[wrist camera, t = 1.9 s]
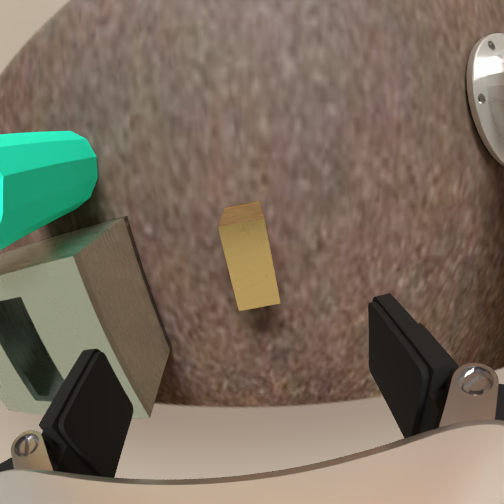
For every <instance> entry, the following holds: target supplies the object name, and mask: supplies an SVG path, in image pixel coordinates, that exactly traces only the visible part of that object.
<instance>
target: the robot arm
mask: <svg viewBox="0 0 504 504" xmlns="http://www.w3.org/2000/svg"><path fill="white" fill-rule="evenodd" d="M466 76H467V93H468V100H469V105H470V109H471V113H472V117H473V120H474V123H475V125H476V128H477V131H478V133H479V135H480V137H481V139H482V141H483V143H484V145H485V146H486V148H487V149H488V151H489V152H490V154H491V155H492V156H493V157H494V158H495V159H496V161H497V162H498V163H500V164H501V165H502V166H504V34H501V33H496V34H491V35H488V36H485V37H483V38H481V39H480V40H479V41H478V42H477V43H476V44H475V45H474V47H473V49H472V51H471V53H470V56H469V60H468V65H467V74H466ZM368 312H369V368H370V372H371V374H372V376H373V378H374V380H375V381H376V383H377V385H378V387H379V389H380V391H381V393H382V395H383V397H384V399H385V401H386V402H387V404H388V406H389V408H390V410H391V412H392V414H393V416H394V418H395V420H396V422H397V424H398V426H399V428H400V430H401V432H402V434H403V436H404V439H401V440H398V441H395V442H392V443H389V444H386V445H383V446H380V447H377V448H374V449H370V450H366V451H363V452H359V453H356V454H352V455H348V456H344V457H340V458H336V459H333V460H328V461H324V462H320V463H315V464H311V465H306V466H301V467H296V468H290V469H285V470H279V471H272V472H265V473H258V474H250V475H242V476H233V477H222V478H207V479H184V480H147V479H146V480H145V479H124V478H114V477H115V473H116V469H117V466H118V462H119V459H120V455H121V451H122V448H123V445H124V441H125V438H126V435H127V432H128V428H129V425H130V422H131V419H132V416H133V412H134V409H133V405H132V403H131V401H130V399H129V398H128V396H127V394H126V392H125V391H124V389H123V387H122V385H121V383H120V382H119V380H118V378H117V376H116V374H115V372H114V370H113V369H112V367H111V365H110V363H109V361H108V359H107V357H106V355H105V354H104V353H103V352H101V351H100V350H99V349H87V350H83V351H82V353H81V354H80V356H79V357H78V359H77V361H76V362H75V364H74V365H73V367H72V369H71V370H70V372H69V374H68V375H67V377H66V379H65V380H64V382H63V384H62V385H61V387H60V389H59V390H58V392H57V394H56V395H55V397H54V399H53V401H52V402H51V404H50V406H49V408H48V409H47V411H46V413H45V415H44V417H43V418H42V420H41V422H40V424H39V426H40V427H41V429H42V430H43V433H42V434H40V433H39V432H38V431H35V430H30V431H26V432H23V433H22V434H21V435H19V436H18V437H17V438H16V439H15V440H14V442H13V443H12V446H11V455H12V458H10V459H8V460H6V461H4V462H3V463H1V464H0V504H504V384H498V383H499V382H498V376H497V374H496V373H495V371H494V370H493V369H492V368H491V367H489V366H487V365H485V364H480V363H469V364H465V365H463V366H461V367H459V366H458V365H457V364H456V362H455V361H454V360H453V359H452V358H451V356H450V355H449V354H448V353H447V352H446V351H445V350H444V348H443V347H442V346H441V345H440V344H439V343H438V342H437V340H436V339H435V338H434V337H433V336H432V335H431V334H430V332H429V331H428V330H427V329H426V328H425V327H424V326H423V325H422V324H419V323H417V322H416V321H415V320H414V319H413V318H412V317H411V316H410V314H409V313H408V312H407V311H406V310H405V309H404V308H403V307H402V306H401V305H400V303H399V302H398V301H397V300H396V299H395V298H394V297H393V296H392V295H391V294H390V293H388V294H384V295H381V296H377V297H374V298H373V302H371V303H369V305H368Z"/></svg>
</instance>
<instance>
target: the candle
mask: <svg viewBox="0 0 504 504" xmlns="http://www.w3.org/2000/svg"><path fill="white" fill-rule="evenodd" d="M97 179H98V173H97V156H96V155H95V153H94V151H93V150H92V148H91V146H90V144H89V143H88V141H87V139H85V138H83V137H82V136H80V135H78V134H76V133H74V132H72V131H50V132H28V133H13V134H1V135H0V250H1V249H3V248H5V247H6V246H8V245H10V244H12V243H13V242H15V241H17V240H19V239H20V238H22V237H24V236H26V235H28V234H29V233H31V232H33V231H35V230H37V229H39V228H40V227H42V226H44V225H46V224H48V223H50V222H52V221H54V220H56V219H58V218H60V217H62V216H64V215H65V214H67V213H69V212H71V211H74V210H76V209H77V208H78V207H79V206H81V205H82V204H83V203H84V202H85V201H87V200H88V199H89V198H90V197H91V194H92V192H93V189H94V187H95V184H96V182H97Z"/></svg>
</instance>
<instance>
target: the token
mask: <svg viewBox="0 0 504 504" xmlns="http://www.w3.org/2000/svg"><path fill="white" fill-rule="evenodd" d="M218 229H219V233H220V237H221V241H222V245H223V249H224V253H225V257H226V262H227V266H228V270H229V274H230V278H231V282H232V286H233V290H234V294H235V298H236V301H237V305H238V309H239V311H242V310H248V309H253V308H259V307H264V306H269V305H274V304H279V303H280V298H279V293H278V287H277V282H276V277H275V272H274V266H273V261H272V256H271V251H270V246H269V240H268V235H267V230H266V225H265V220H264V216H263V212H262V208H261V204H260V201H255V202H250V203H245V204H240V205H236V206H231V207H226V208H224V210H223V213H222V217H221V220H220V224H219V227H218Z"/></svg>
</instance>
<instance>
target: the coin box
mask: <svg viewBox="0 0 504 504" xmlns="http://www.w3.org/2000/svg"><path fill="white" fill-rule="evenodd" d="M87 349H99V350H100V351H101V352H103V353H104V354H105V355H106V357H107V359H108V361H109V363H110V365H111V367H112V369H113V370H114V372H115V374H116V376H117V378H118V380H119V382H120V383H121V385H122V387H123V389H124V391H125V392H126V394H127V396H128V398H129V399H130V401H131V403H132V405H133V409H134V412H133V416H132V419H136V418H137V419H138V418H150V416H151V412H152V409H153V405H154V402H155V399H156V395H157V392H158V388H159V385H160V382H161V378H162V375H163V372H164V369H165V365H166V362H167V359H168V356H169V352H170V349H171V344H170V341H169V339H168V336H167V334H166V331H165V329H164V326H163V323H162V321H161V318H160V315H159V313H158V310H157V307H156V305H155V302H154V299H153V296H152V293H151V291H150V288H149V285H148V282H147V279H146V276H145V273H144V270H143V267H142V264H141V261H140V258H139V255H138V252H137V248H136V245H135V242H134V239H133V236H132V232H131V229H130V225H129V222H128V219H127V216H125V217H121V218H117V219H114V220H110V221H106V222H103V223H99V224H95V225H92V226H88V227H85V228H81V229H78V230H75V231H71V232H68V233H64V234H61V235H58V236H55V237H51V238H48V239H45V240H42V241H38V242H35V243H32V244H29V245H26V246H23V247H20V248H17V249H14V250H11V251H8V252H5V253H2V254H0V399H1V400H2V402H3V403H4V404H5V405H6V407H7V409H8V410H12V411H18V412H26V413H34V414H43V415H45V413H46V411H47V409H48V408H49V406H50V404H51V402H52V401H53V399H54V397H55V395H56V394H57V392H58V390H59V389H60V387H61V385H62V384H63V382H64V380H65V379H66V377H67V375H68V374H69V372H70V370H71V369H72V367H73V365H74V364H75V362H76V361H77V359H78V357H79V356H80V354H81V353H82V351H83V350H87Z"/></svg>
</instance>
